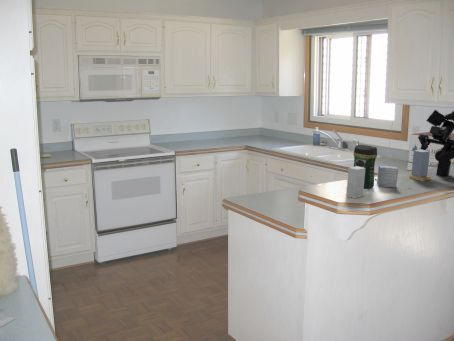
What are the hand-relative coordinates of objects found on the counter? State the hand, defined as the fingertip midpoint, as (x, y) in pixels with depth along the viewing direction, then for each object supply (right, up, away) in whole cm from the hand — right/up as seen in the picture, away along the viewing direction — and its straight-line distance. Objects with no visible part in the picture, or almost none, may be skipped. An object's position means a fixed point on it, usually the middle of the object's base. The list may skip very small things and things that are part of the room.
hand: (429, 155), depth 236 cm
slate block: (-5, -10, -1) cm, 11 cm away
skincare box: (-45, -18, -35) cm, 60 cm away
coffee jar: (-37, -15, -19) cm, 44 cm away
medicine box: (-25, -14, -15) cm, 33 cm away
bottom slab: (-5, -13, 0) cm, 14 cm away
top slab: (-5, -11, -1) cm, 12 cm away
